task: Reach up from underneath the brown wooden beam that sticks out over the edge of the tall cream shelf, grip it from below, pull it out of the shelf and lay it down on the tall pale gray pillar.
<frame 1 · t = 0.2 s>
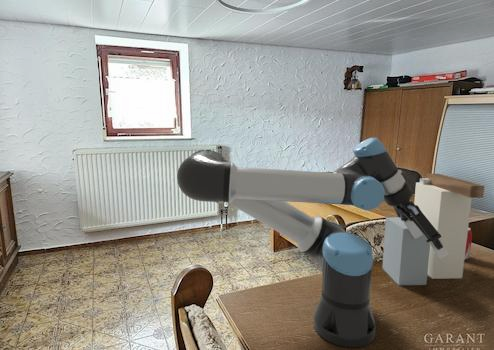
hand: (430, 245, 92), 16 cm above the table, tool tilted 35°, fingers open, 13 cm apart
tall pale gray pillar: (403, 276, 108), on the table
brown wooden beam: (451, 189, 103), point 30 cm above the table, touching shelf stand
soda can: (458, 257, 122), on the table
shelf stand: (434, 268, 113), on the table
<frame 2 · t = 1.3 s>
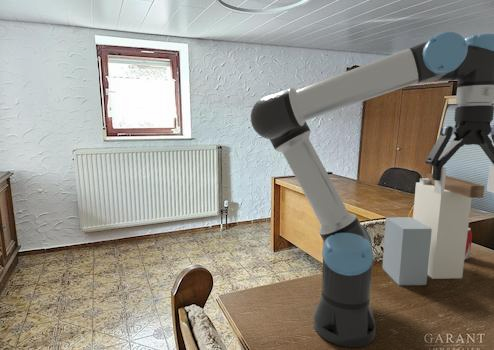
hand: (465, 192, 78), 35 cm above the table, tool pointing down, fingers open, 13 cm apart
nothing on the table moved.
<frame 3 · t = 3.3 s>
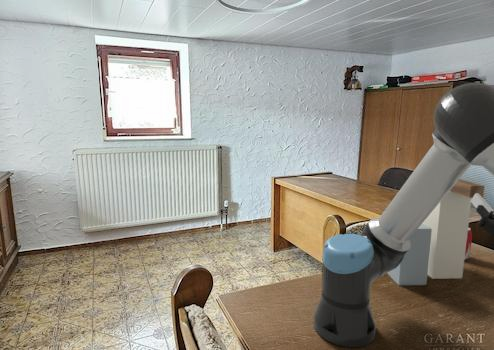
nothing on the table moved.
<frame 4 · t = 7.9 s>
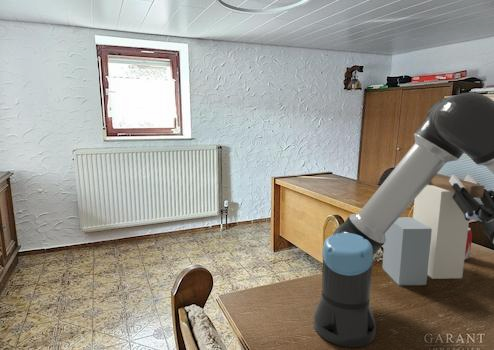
hand: (459, 177, 100), 34 cm above the table, tool pointing upward, fingers closed on brown wooden beam, 4 cm apart
brown wooden beam: (451, 189, 103), point 30 cm above the table, touching gripper, shelf stand
everything else where it was.
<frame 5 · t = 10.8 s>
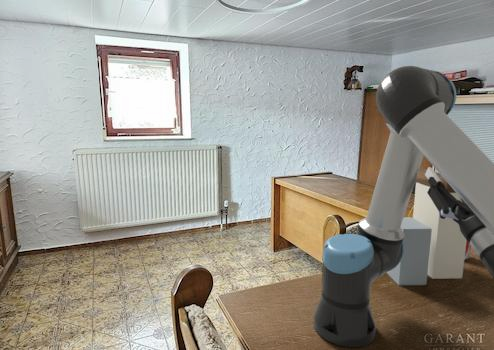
hand: (436, 171, 89), 38 cm above the table, tool pointing upward, fingers closed on brown wooden beam, 4 cm apart
brown wooden beam: (428, 184, 93), point 34 cm above the table, touching gripper
everything else where it was.
when the fingers open (25 cm above the table, at t = 14.0 s): brown wooden beam drops 2 cm, resting on tall pale gray pillar.
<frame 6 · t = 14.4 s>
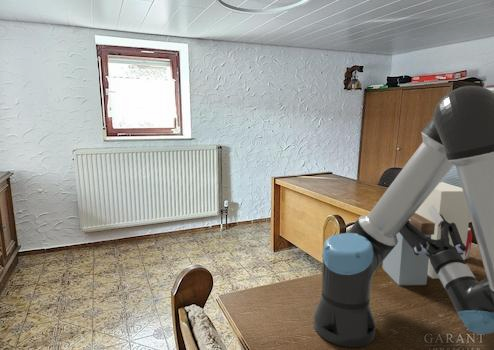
hand: (415, 208, 100), 25 cm above the table, tool pointing upward, fingers open, 9 cm apart
brown wooden beam: (408, 222, 104), point 19 cm above the table, touching tall pale gray pillar
everything else where it was.
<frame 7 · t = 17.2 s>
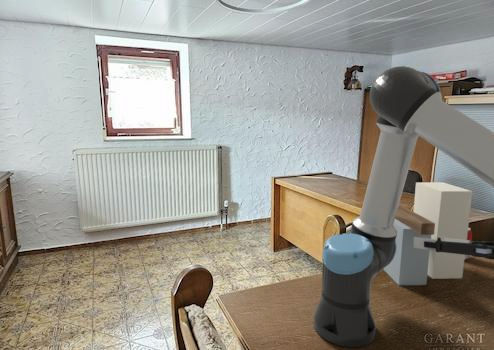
hand: (430, 242, 86), 20 cm above the table, tool horizontal, fingers open, 13 cm apart
nothing on the table moved.
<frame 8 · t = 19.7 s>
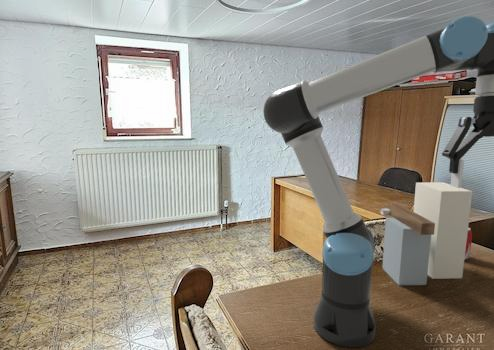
hand: (483, 186, 75), 37 cm above the table, tool pointing down, fingers open, 13 cm apart
nothing on the table moved.
at the end: brown wooden beam inside the target area (0.1 cm from its centre), point 19.0 cm above the table; the gripper is holding nothing; brown wooden beam touching tall pale gray pillar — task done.
